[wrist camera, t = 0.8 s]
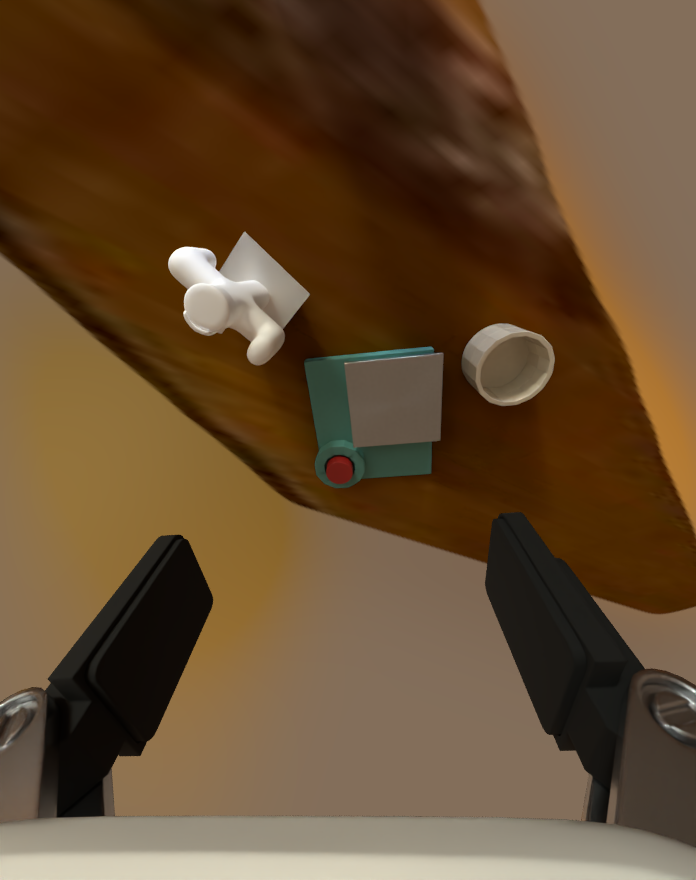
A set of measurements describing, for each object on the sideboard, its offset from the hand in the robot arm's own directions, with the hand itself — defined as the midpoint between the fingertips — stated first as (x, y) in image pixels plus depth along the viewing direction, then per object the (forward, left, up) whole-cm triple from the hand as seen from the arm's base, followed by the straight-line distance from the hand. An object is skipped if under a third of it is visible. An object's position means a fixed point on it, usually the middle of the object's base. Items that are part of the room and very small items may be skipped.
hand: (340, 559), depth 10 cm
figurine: (-6, -8, -29) cm, 31 cm away
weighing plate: (+6, +4, -29) cm, 30 cm away
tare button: (+13, -3, -26) cm, 30 cm away
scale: (+8, +2, -29) cm, 30 cm away
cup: (+3, +16, -29) cm, 33 cm away
